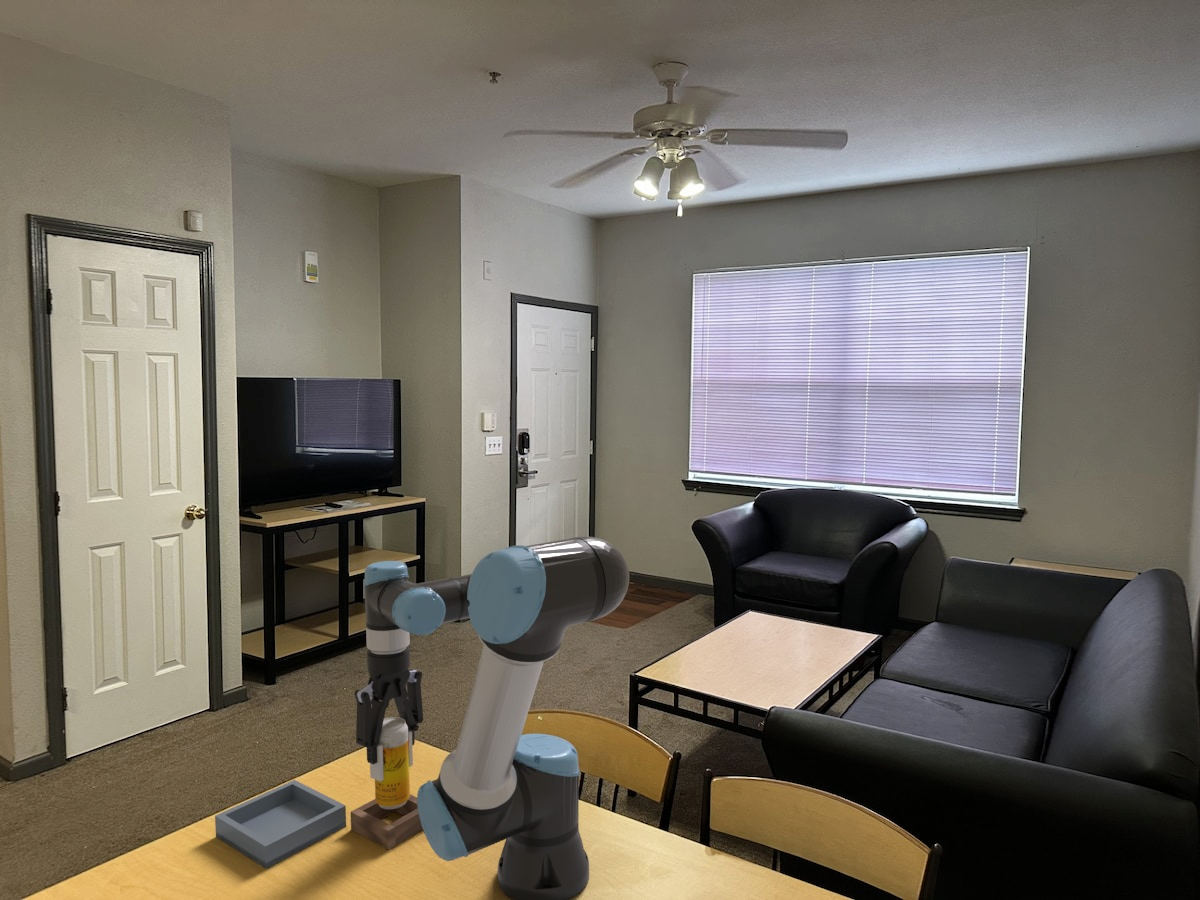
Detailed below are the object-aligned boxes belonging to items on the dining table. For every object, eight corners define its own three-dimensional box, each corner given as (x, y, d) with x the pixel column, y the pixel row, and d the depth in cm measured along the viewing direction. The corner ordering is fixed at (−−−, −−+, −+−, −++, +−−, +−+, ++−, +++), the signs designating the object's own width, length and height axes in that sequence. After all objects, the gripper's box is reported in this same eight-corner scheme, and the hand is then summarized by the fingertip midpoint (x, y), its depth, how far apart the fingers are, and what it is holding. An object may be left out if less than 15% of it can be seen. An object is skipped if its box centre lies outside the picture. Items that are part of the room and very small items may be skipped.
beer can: (369, 808, 147) (366, 727, 146) (387, 791, 153) (384, 714, 152) (398, 813, 145) (396, 732, 144) (416, 796, 151) (413, 718, 150)
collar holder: (433, 823, 151) (433, 805, 151) (388, 849, 143) (388, 830, 142) (396, 805, 157) (396, 788, 157) (351, 829, 149) (350, 811, 148)
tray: (346, 826, 150) (345, 805, 150) (266, 868, 137) (265, 846, 137) (295, 799, 159) (294, 779, 159) (215, 836, 147) (214, 815, 146)
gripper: (415, 630, 157) (418, 746, 159) (330, 658, 141) (334, 786, 143) (442, 637, 152) (445, 757, 154) (357, 667, 137) (362, 799, 139)
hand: (392, 771), depth 149 cm, fingers closed on beer can, 6 cm apart
